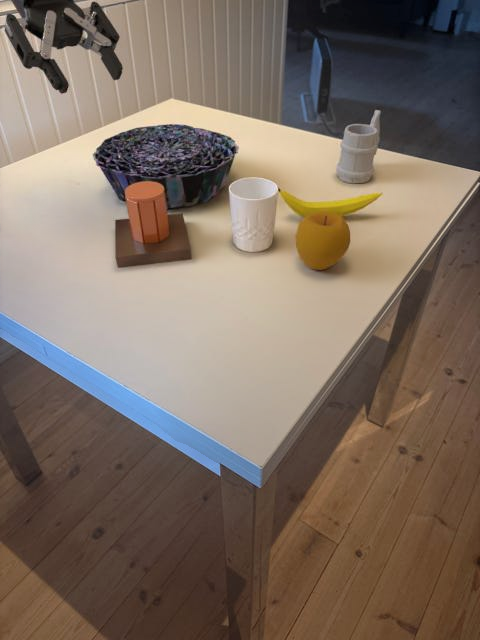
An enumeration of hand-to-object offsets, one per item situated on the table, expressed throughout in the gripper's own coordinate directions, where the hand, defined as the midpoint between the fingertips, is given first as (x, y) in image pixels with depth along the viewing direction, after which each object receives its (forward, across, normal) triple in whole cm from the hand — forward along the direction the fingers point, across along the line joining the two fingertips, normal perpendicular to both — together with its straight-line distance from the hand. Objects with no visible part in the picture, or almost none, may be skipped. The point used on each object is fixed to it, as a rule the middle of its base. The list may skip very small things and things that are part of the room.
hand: (93, 82), depth 67 cm
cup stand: (+21, +3, +16) cm, 26 cm away
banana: (+33, +31, +4) cm, 45 cm away
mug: (+28, +51, +9) cm, 59 cm away
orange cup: (+20, +3, +14) cm, 24 cm away
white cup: (+30, +16, +7) cm, 34 cm away
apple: (+38, +18, -2) cm, 42 cm away
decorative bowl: (+11, +19, +26) cm, 34 cm away
